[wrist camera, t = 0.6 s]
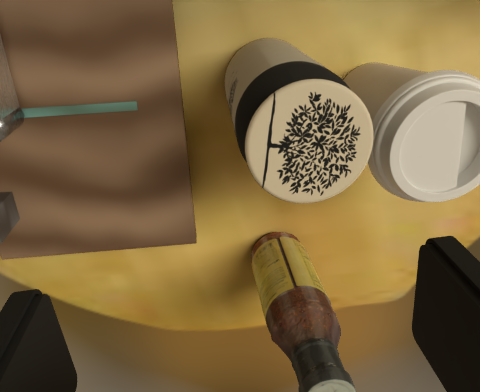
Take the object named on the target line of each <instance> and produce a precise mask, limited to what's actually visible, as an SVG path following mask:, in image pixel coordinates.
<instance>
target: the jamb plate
mask: <svg viewBox="0 0 480 392" xmlns="http://www.w3.org/2000/svg"><path fill="white" fill-rule="evenodd" d="M0 35H1V39H2V43H3V46H4V50H5V54H6V58H7V61H8V65H9V69H10V73H11V76H12V80H13V84H14V88H15V91H16V95H17V99H18V103H19V106H20V108H21V109H22V111H23V113H24V122H23V124H22V125H21V126H20V127H18V128H17V129H16V130H15V131H13V132H12V133H11V134H10V135H8V136H7V137H6V138H5V139H3V140H2V141H1V142H0V255H1V258H2V259H13V258H25V257H37V256H49V255H61V254H73V253H85V252H97V251H109V250H121V249H133V248H145V247H157V246H169V245H181V244H193V243H196V228H195V218H194V208H193V198H192V189H191V179H190V169H189V159H188V150H187V140H186V130H185V120H184V111H183V101H182V91H181V82H180V72H179V62H178V52H177V43H176V33H175V23H174V13H173V4H172V0H0Z"/></svg>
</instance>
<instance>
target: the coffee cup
mask: <svg viewBox="0 0 480 392" xmlns="http://www.w3.org/2000/svg"><path fill="white" fill-rule="evenodd" d="M343 81H344V82H345V83H346V84H347V85H348V86H349V88H350V89H351V91H353V92H354V93H355V94H356V95H357V96H358V97H359V98H360V99H361V100H362V102H363V103H364V105H365V106H366V108H367V110H368V112H369V114H370V117H371V120H372V124H373V136H374V138H373V146H372V151H371V154H370V157H369V160H368V164H369V168H370V170H371V172H372V174H373V176H374V178H375V179H376V181H377V182H378V183H379V184H380V185H381V186H382V187H383V188H384V189H385V190H387V191H388V192H390V193H392V194H394V195H396V196H398V197H401V198H403V199H407V200H411V201H418V202H442V201H447V200H451V199H455V198H457V197H460V196H462V195H464V194H466V193H468V192H469V191H471V190H473V189H474V188H475V187H477V186H478V185H479V184H480V80H479V79H478V78H476V77H474V76H472V75H470V74H468V73H465V72H461V71H455V70H440V71H434V72H430V73H428V72H423V71H417V70H412V69H407V68H402V67H397V66H393V65H388V64H383V63H366V64H363V65H361V66H358V67H357V68H355V69H353V70H352V71H351V72H350V73H349V74H348V75H347V76H346V77H345V78H344V80H343Z"/></svg>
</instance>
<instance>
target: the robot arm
mask: <svg viewBox="0 0 480 392" xmlns="http://www.w3.org/2000/svg"><path fill="white" fill-rule="evenodd" d="M412 332H413V336H414V339H415V341H416V343H417V344H418V345H419V347H420V349H421V351H422V352H423V354H424V356H425V357H426V359H427V360H428V362H429V363H430V365H431V367H432V368H433V370H434V372H435V373H436V375H437V377H438V378H439V380H440V381H441V383H442V385H443V386H444V388H445V390H446V391H447V392H480V262H479V261H478V260H477V259H476V258H475V257H474V256H473V255H472V254H471V253H470V252H469V251H468V250H467V249H466V248H465V247H464V246H463V245H462V244H461V243H460V242H459V241H458V240H457V239H456V238H454V237H453V236H445V237H437V238H430V239H428V240H427V241H426V244H425V245H422V246H421V247H420V250H419V259H418V269H417V280H416V290H415V300H414V310H413V321H412ZM76 387H77V374H76V370H75V367H74V364H73V362H72V359H71V356H70V353H69V351H68V348H67V345H66V342H65V339H64V336H63V333H62V331H61V328H60V325H59V322H58V319H57V317H56V314H55V311H54V308H53V305H52V302H51V299H50V297H49V296H48V295H47V294H43V295H42V292H41V291H40V290H38V289H35V290H27V291H20V292H14V293H12V294H11V295H10V297H9V298H8V300H7V302H6V303H5V305H4V307H3V309H2V310H1V312H0V392H75V391H76Z"/></svg>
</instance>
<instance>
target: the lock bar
mask: <svg viewBox="0 0 480 392" xmlns="http://www.w3.org/2000/svg"><path fill="white" fill-rule="evenodd" d="M23 122H24V113H23V111H22V109H21V108H20V106H19V103H18V99H17V95H16V91H15V88H14V84H13V80H12V76H11V73H10V69H9V65H8V61H7V58H6V54H5V50H4V46H3V43H2V39H1V35H0V142H1V141H2V140H3V139H5V138H6V137H7V136H8V135H10V134H11V133H12V132H13V131H15V130H16V129H17V128H18V127H20V126H21V125H22V124H23Z"/></svg>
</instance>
